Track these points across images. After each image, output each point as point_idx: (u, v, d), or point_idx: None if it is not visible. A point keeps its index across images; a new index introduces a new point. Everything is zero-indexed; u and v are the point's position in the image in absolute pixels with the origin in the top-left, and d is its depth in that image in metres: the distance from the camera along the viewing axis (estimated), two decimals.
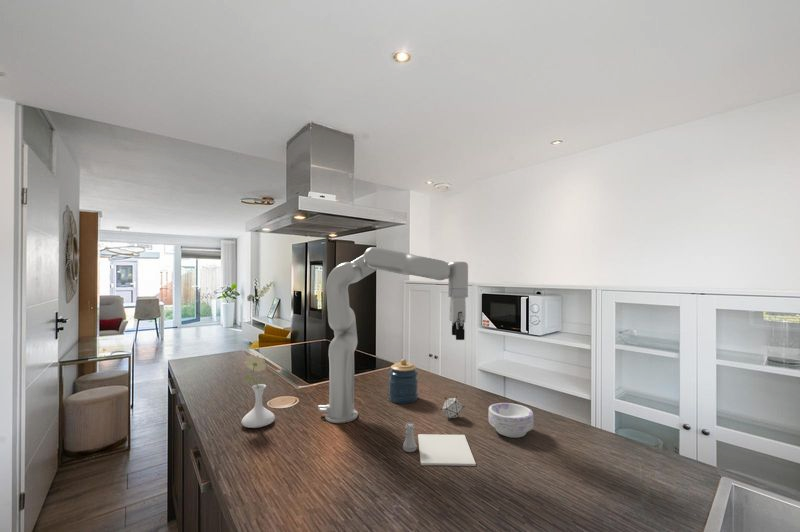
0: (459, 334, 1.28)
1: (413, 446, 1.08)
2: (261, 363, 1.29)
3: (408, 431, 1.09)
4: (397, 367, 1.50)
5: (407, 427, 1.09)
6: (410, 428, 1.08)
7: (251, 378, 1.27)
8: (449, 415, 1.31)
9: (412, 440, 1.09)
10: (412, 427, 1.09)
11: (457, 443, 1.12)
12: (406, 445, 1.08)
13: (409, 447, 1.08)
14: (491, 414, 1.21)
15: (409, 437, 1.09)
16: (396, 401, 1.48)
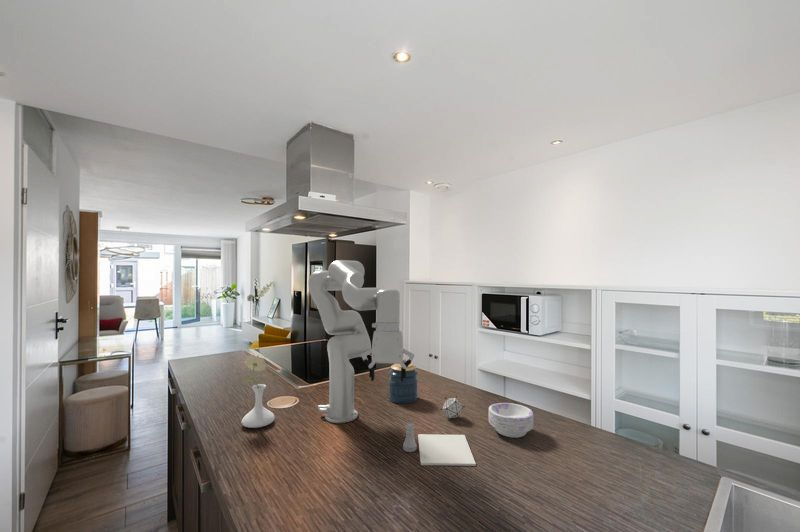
0: None
1: (413, 446, 1.08)
2: (261, 363, 1.29)
3: (408, 431, 1.09)
4: (397, 367, 1.50)
5: (407, 427, 1.09)
6: (410, 428, 1.08)
7: (251, 378, 1.27)
8: (449, 415, 1.31)
9: (412, 440, 1.09)
10: (412, 427, 1.09)
11: (457, 443, 1.12)
12: (406, 445, 1.08)
13: (409, 447, 1.08)
14: (491, 414, 1.21)
15: (409, 437, 1.09)
16: (396, 401, 1.48)
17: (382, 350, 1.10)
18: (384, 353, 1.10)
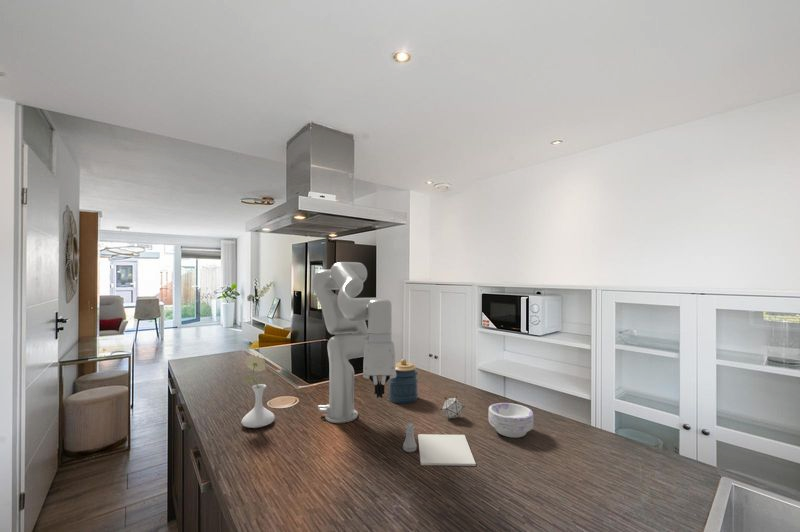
0: None
1: (413, 446, 1.08)
2: (261, 363, 1.29)
3: (408, 431, 1.09)
4: (397, 367, 1.50)
5: (407, 427, 1.09)
6: (410, 428, 1.08)
7: (251, 378, 1.27)
8: (449, 415, 1.31)
9: (412, 440, 1.09)
10: (412, 427, 1.09)
11: (457, 443, 1.12)
12: (406, 445, 1.08)
13: (409, 447, 1.08)
14: (491, 414, 1.21)
15: (409, 437, 1.09)
16: (396, 401, 1.48)
17: (374, 362, 1.07)
18: (376, 365, 1.07)
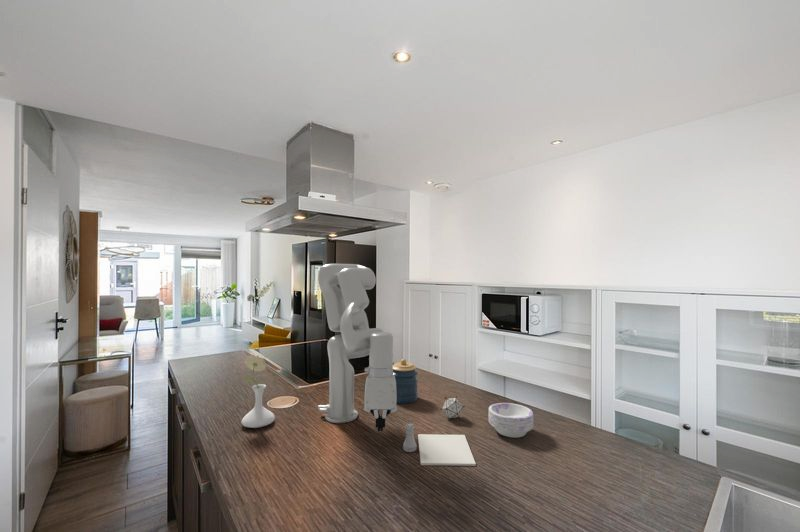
0: (384, 423, 1.09)
1: (413, 446, 1.08)
2: (261, 363, 1.29)
3: (408, 431, 1.09)
4: (397, 367, 1.50)
5: (407, 427, 1.09)
6: (410, 428, 1.08)
7: (251, 378, 1.27)
8: (449, 415, 1.31)
9: (412, 440, 1.09)
10: (412, 427, 1.09)
11: (457, 443, 1.12)
12: (406, 445, 1.08)
13: (409, 447, 1.08)
14: (491, 414, 1.21)
15: (409, 437, 1.09)
16: None
17: (375, 396, 1.07)
18: (377, 399, 1.07)
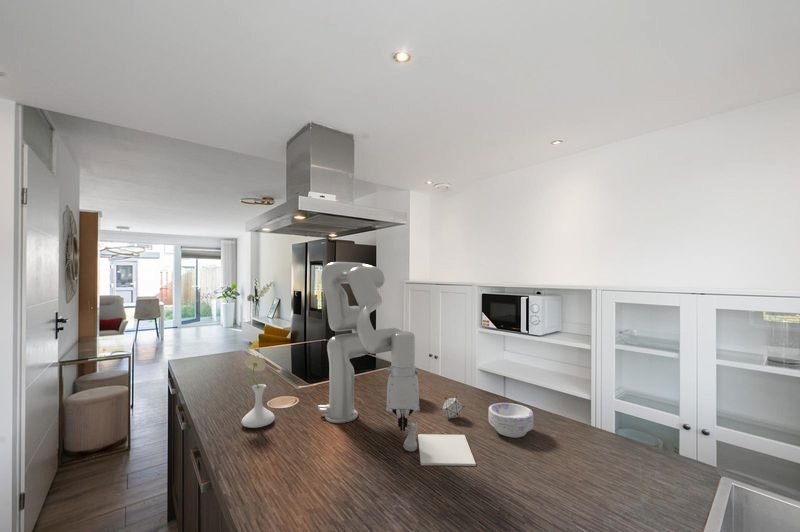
0: None
1: (414, 446, 1.08)
2: (261, 363, 1.29)
3: (411, 430, 1.09)
4: None
5: (410, 426, 1.09)
6: (413, 428, 1.08)
7: (251, 378, 1.27)
8: (449, 415, 1.31)
9: (413, 440, 1.09)
10: (415, 427, 1.09)
11: (457, 443, 1.12)
12: (407, 444, 1.08)
13: (410, 446, 1.08)
14: (491, 414, 1.21)
15: (411, 436, 1.08)
16: None
17: (398, 396, 1.07)
18: (400, 399, 1.07)
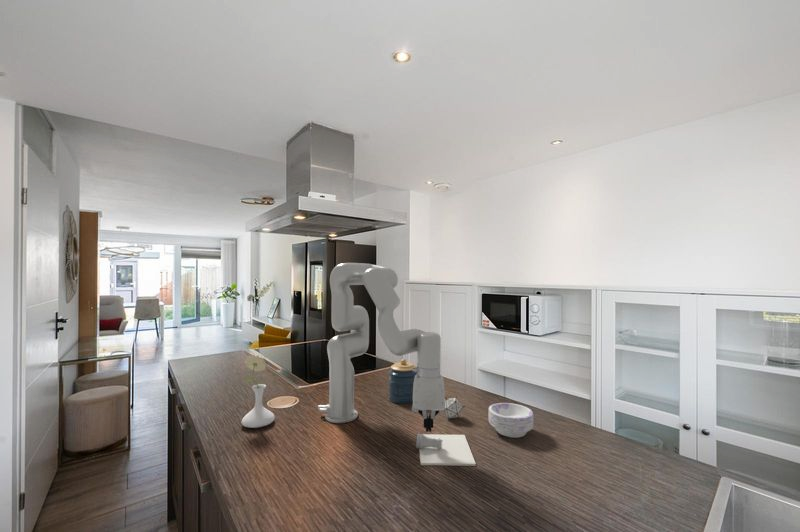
0: None
1: (421, 447, 1.08)
2: (261, 363, 1.29)
3: (435, 443, 1.08)
4: (397, 367, 1.50)
5: (440, 443, 1.07)
6: (439, 446, 1.07)
7: (251, 378, 1.27)
8: (449, 415, 1.31)
9: (426, 446, 1.08)
10: (439, 448, 1.08)
11: (457, 443, 1.12)
12: (422, 440, 1.08)
13: (421, 444, 1.07)
14: (491, 414, 1.21)
15: (430, 444, 1.08)
16: (396, 401, 1.48)
17: (424, 397, 1.07)
18: (426, 400, 1.07)
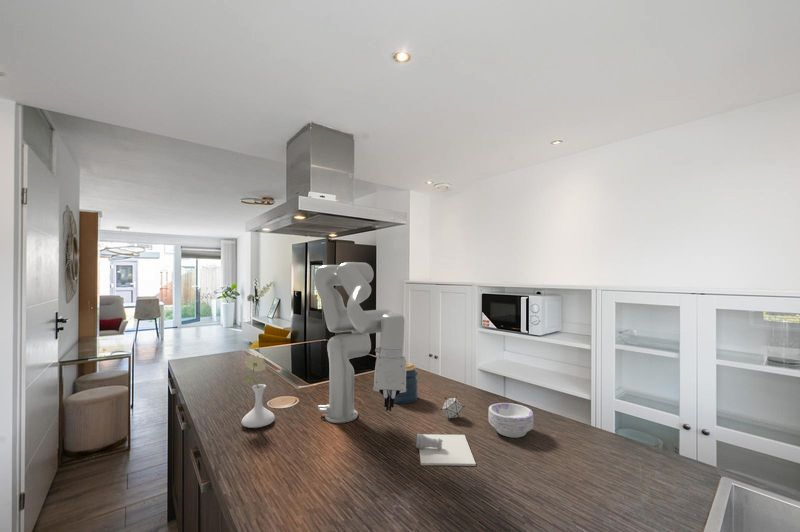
0: (393, 403, 1.10)
1: (421, 447, 1.08)
2: (261, 363, 1.29)
3: (435, 443, 1.08)
4: None
5: (440, 443, 1.07)
6: (439, 446, 1.07)
7: (251, 378, 1.27)
8: (449, 415, 1.31)
9: (426, 446, 1.08)
10: (439, 448, 1.08)
11: (457, 443, 1.12)
12: (422, 440, 1.08)
13: (421, 444, 1.07)
14: (491, 414, 1.21)
15: (430, 444, 1.08)
16: (396, 401, 1.48)
17: (385, 376, 1.08)
18: (387, 380, 1.08)
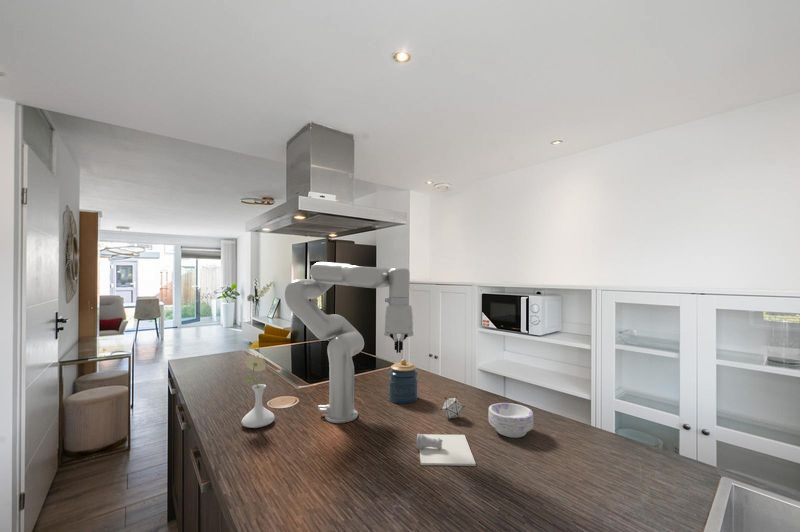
0: (402, 346, 1.26)
1: (421, 447, 1.08)
2: (261, 363, 1.29)
3: (435, 443, 1.08)
4: (397, 367, 1.50)
5: (440, 443, 1.07)
6: (439, 446, 1.07)
7: (251, 378, 1.27)
8: (449, 415, 1.31)
9: (426, 446, 1.08)
10: (439, 448, 1.08)
11: (457, 443, 1.12)
12: (422, 440, 1.08)
13: (421, 444, 1.07)
14: (491, 414, 1.21)
15: (430, 444, 1.08)
16: (396, 401, 1.48)
17: (394, 321, 1.24)
18: (396, 324, 1.24)
